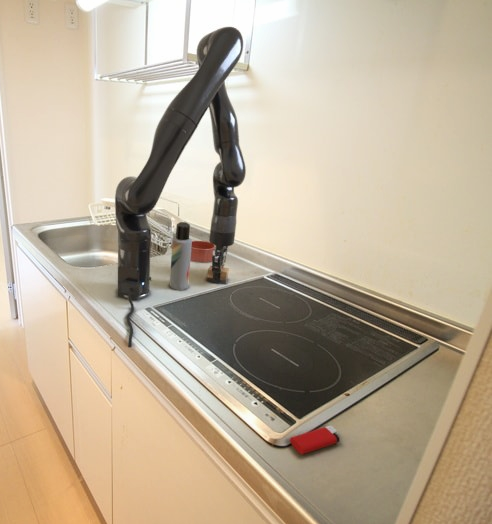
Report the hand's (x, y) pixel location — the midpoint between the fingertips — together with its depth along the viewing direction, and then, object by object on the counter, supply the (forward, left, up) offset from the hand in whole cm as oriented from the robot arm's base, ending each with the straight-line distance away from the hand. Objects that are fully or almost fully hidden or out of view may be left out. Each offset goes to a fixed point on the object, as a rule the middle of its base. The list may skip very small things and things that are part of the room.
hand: (217, 279), depth 117 cm
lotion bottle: (-10, +10, 0) cm, 14 cm away
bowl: (+19, +10, 0) cm, 21 cm away
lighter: (-58, -27, 0) cm, 64 cm away
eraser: (0, 0, 0) cm, 0 cm away
